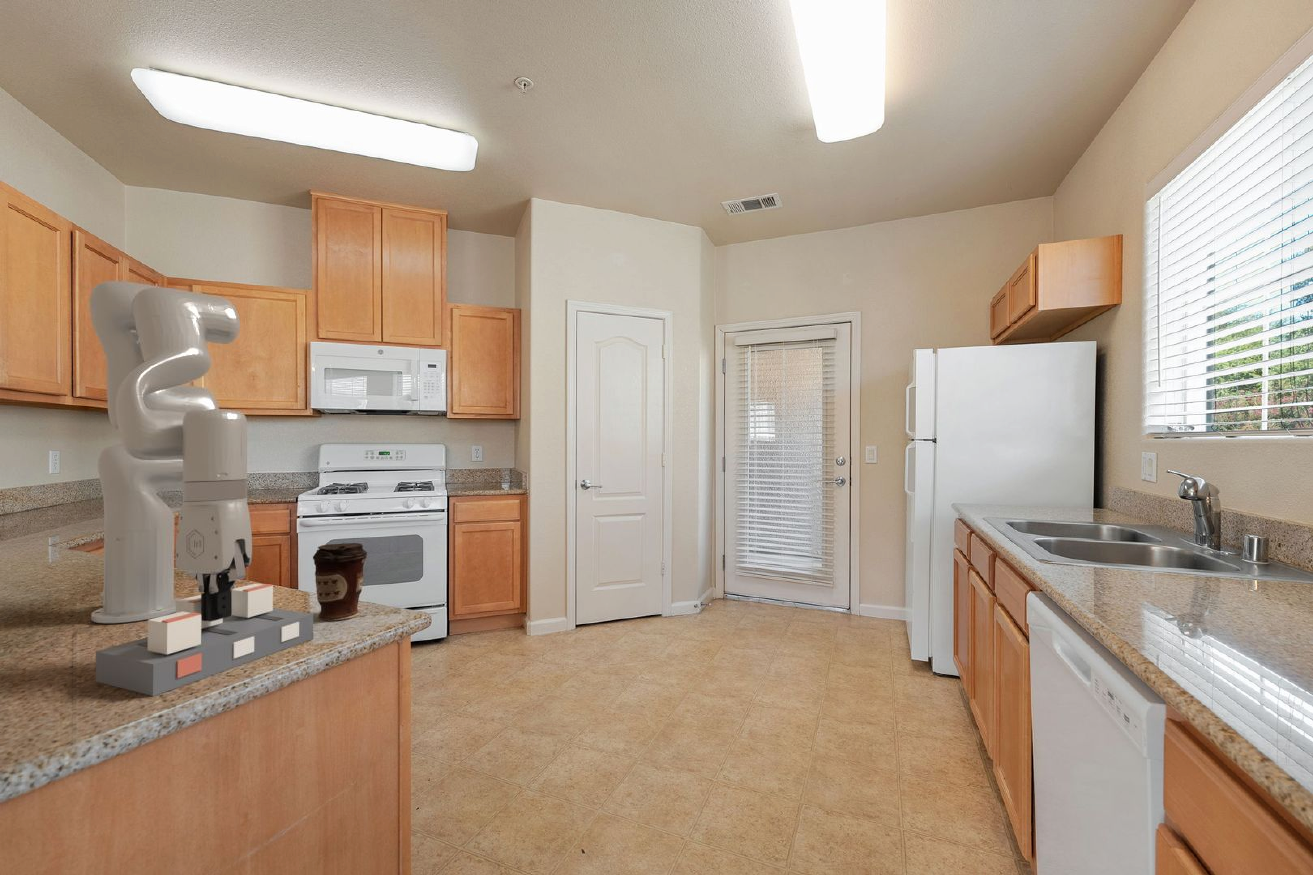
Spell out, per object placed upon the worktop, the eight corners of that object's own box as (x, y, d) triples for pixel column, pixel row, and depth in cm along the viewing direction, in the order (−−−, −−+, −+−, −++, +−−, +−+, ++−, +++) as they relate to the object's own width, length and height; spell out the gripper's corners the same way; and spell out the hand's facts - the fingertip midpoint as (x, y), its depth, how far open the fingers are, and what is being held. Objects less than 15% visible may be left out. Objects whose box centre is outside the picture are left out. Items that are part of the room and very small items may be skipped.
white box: (147, 650, 75) (147, 618, 75) (181, 640, 78) (182, 609, 79) (167, 654, 73) (167, 621, 73) (200, 644, 77) (201, 613, 77)
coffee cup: (341, 625, 98) (341, 550, 98) (299, 622, 100) (300, 548, 100) (375, 611, 107) (376, 541, 107) (337, 608, 108) (337, 540, 108)
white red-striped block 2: (230, 614, 90) (230, 588, 90) (255, 607, 94) (255, 582, 94) (247, 617, 88) (248, 590, 88) (272, 610, 92) (273, 584, 92)
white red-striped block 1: (175, 627, 84) (175, 599, 84) (205, 619, 87) (205, 592, 87) (193, 630, 82) (193, 602, 82) (222, 622, 86) (222, 595, 86)
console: (95, 681, 75) (96, 650, 75) (261, 629, 96) (261, 605, 96) (154, 696, 71) (154, 663, 71) (313, 638, 92) (314, 613, 92)
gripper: (153, 495, 83) (154, 622, 82) (223, 495, 78) (224, 630, 77) (209, 491, 90) (209, 608, 89) (276, 491, 85) (277, 615, 84)
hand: (216, 618), depth 83 cm, fingers closed
